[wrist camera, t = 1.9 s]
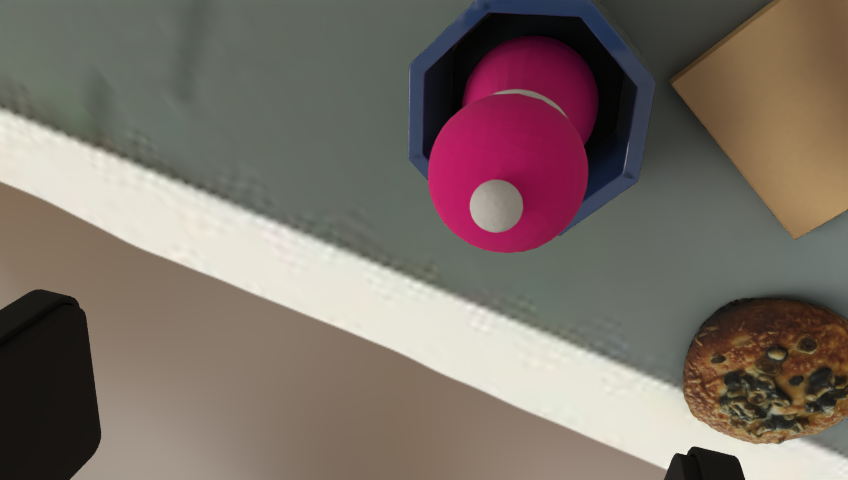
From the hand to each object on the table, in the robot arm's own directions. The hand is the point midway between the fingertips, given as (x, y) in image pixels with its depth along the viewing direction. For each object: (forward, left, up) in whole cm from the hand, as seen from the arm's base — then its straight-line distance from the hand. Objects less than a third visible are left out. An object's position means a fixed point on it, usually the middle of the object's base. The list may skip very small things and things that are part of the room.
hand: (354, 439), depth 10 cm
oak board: (-13, +12, -32) cm, 36 cm away
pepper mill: (0, +1, -32) cm, 32 cm away
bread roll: (0, +25, -32) cm, 41 cm away
